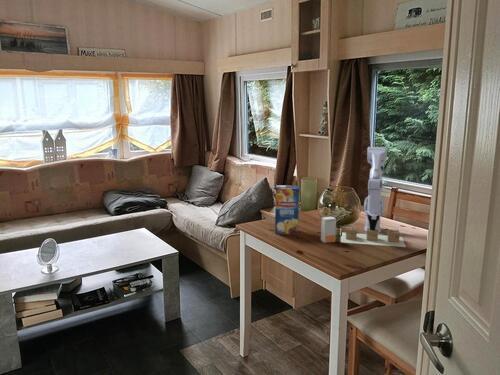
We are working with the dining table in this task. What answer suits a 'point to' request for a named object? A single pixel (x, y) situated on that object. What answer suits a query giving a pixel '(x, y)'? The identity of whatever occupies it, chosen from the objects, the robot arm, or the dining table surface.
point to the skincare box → (328, 229)
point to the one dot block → (393, 235)
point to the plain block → (372, 234)
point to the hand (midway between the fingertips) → (372, 229)
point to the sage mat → (381, 241)
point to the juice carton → (286, 209)
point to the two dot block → (351, 233)
